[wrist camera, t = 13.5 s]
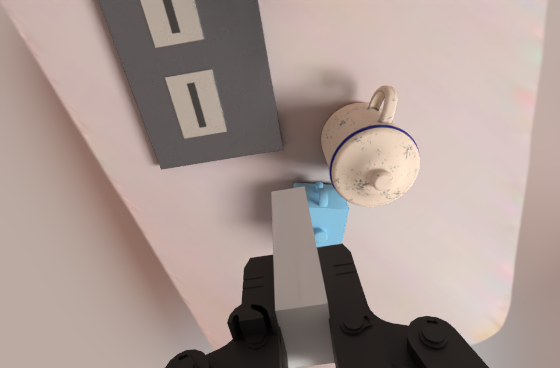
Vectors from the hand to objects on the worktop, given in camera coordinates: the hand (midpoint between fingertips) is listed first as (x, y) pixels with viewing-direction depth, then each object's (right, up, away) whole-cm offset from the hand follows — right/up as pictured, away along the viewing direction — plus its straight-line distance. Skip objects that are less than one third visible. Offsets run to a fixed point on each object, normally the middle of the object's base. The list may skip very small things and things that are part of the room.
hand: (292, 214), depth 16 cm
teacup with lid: (+9, +9, +26) cm, 29 cm away
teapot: (+4, -2, +32) cm, 32 cm away
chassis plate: (-10, +17, +20) cm, 28 cm away
